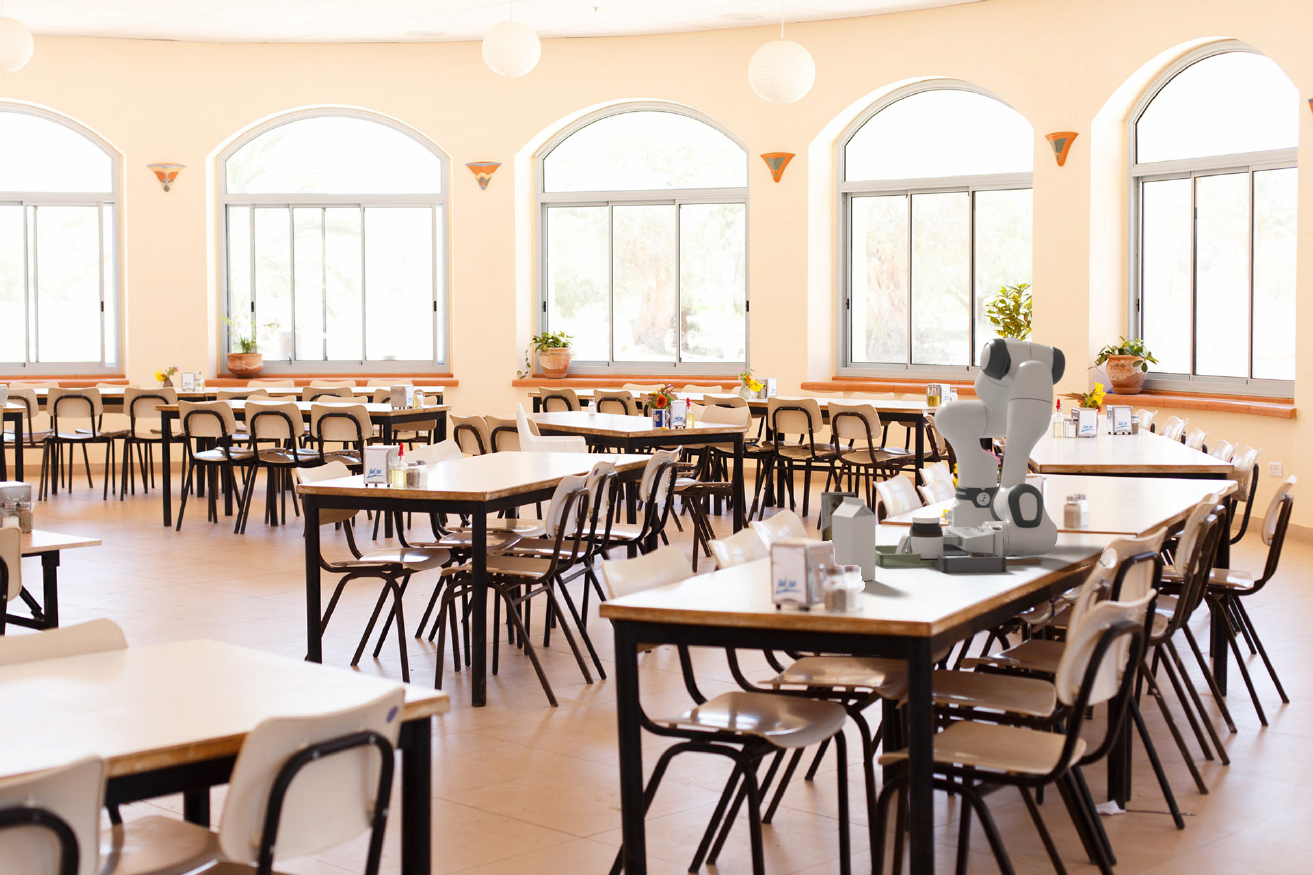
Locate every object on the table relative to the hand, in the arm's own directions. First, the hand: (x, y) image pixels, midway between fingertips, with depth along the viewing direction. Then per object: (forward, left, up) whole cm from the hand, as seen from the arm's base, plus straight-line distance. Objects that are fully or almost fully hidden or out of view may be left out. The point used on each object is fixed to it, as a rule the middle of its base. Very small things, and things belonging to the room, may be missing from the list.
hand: (937, 539), depth 331 cm
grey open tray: (-14, +4, -5) cm, 15 cm away
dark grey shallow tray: (+14, +4, -5) cm, 16 cm away
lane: (0, +4, -5) cm, 6 cm away
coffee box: (-14, -22, -6) cm, 27 cm away
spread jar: (+2, -5, -6) cm, 8 cm away
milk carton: (+26, -26, -6) cm, 38 cm away
